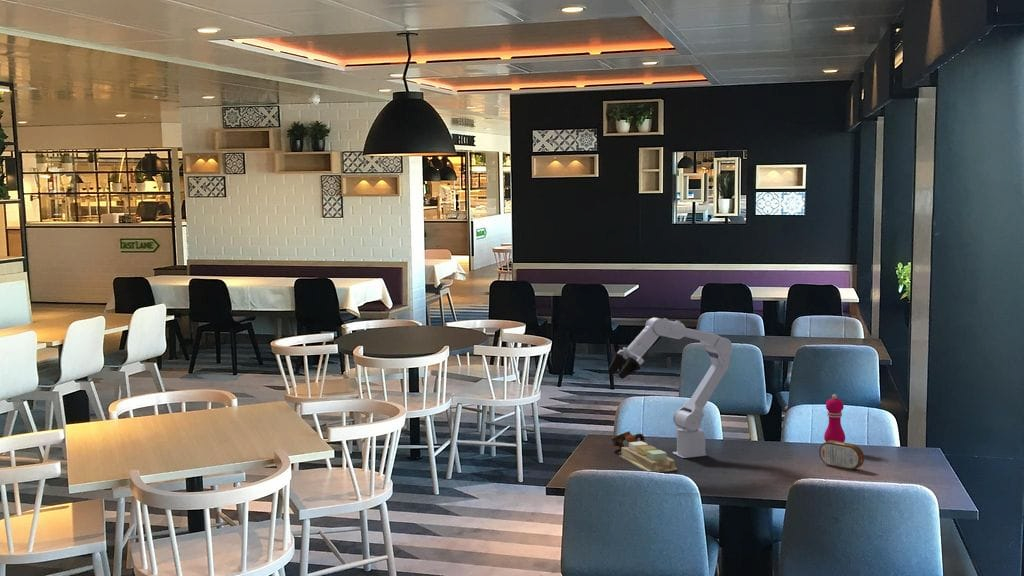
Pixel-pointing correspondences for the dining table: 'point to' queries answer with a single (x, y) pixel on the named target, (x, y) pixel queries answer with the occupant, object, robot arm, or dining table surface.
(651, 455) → the sage key
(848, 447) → the tin
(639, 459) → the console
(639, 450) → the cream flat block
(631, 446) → the ivory key
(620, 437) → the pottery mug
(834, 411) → the pepper mill
